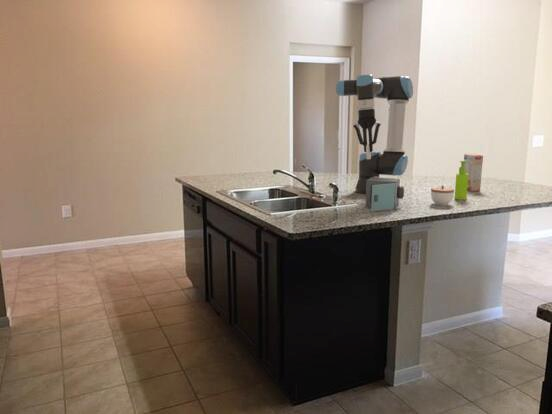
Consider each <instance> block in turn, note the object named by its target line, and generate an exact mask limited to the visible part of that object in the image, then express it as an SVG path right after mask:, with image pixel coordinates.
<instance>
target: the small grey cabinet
mask: <svg viewBox="0 0 552 414" xmlns="http://www.w3.org/2000/svg"><path fill="white" fill-rule="evenodd" d="M400 181H401V179H400V178H393V177H392V178H391V177H380V176H379V177H374V178H373V177H371V178H370V179H368V180H366V194H365V208H371V204H372V185H380V184H392V183H397V197H396V208H398V207H399V205H400V199H403V198H404V196H405V186H403V185H401V186H400Z"/></svg>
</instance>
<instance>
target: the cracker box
mask: <svg viewBox="0 0 552 414" xmlns="http://www.w3.org/2000/svg"><path fill="white" fill-rule="evenodd" d="M483 159H484V156H483V155H482V154H481V155H480V154H475V153H464V155H463V161H469V162H471V163H468V162H465V167H466V174H468V184H467V191H470V192H481V183H482V170H483V163H484V160H483Z"/></svg>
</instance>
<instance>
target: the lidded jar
mask: <svg viewBox="0 0 552 414" xmlns="http://www.w3.org/2000/svg"><path fill="white" fill-rule="evenodd" d="M430 190H431V191H430V195H431V200H432V202H433V203H434V204H435V205H437V206H448V205H449V204H450V203H451V202H452V201H453V198H454V195H455V188H450V187H445V186H444V185H441V187H438V186H437V187H432V188H430Z"/></svg>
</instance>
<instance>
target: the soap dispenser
mask: <svg viewBox="0 0 552 414" xmlns="http://www.w3.org/2000/svg"><path fill="white" fill-rule="evenodd" d="M459 162H460V166H459V167H458V168H459V169H458V173H456V175H455V176H456V177H455V186H454V187H455V188H454V199H455V200H467V195H468V190H467V184H468V174H466V167H465V162H468V163H471V162H469V161H464V160H460V161H459Z"/></svg>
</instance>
